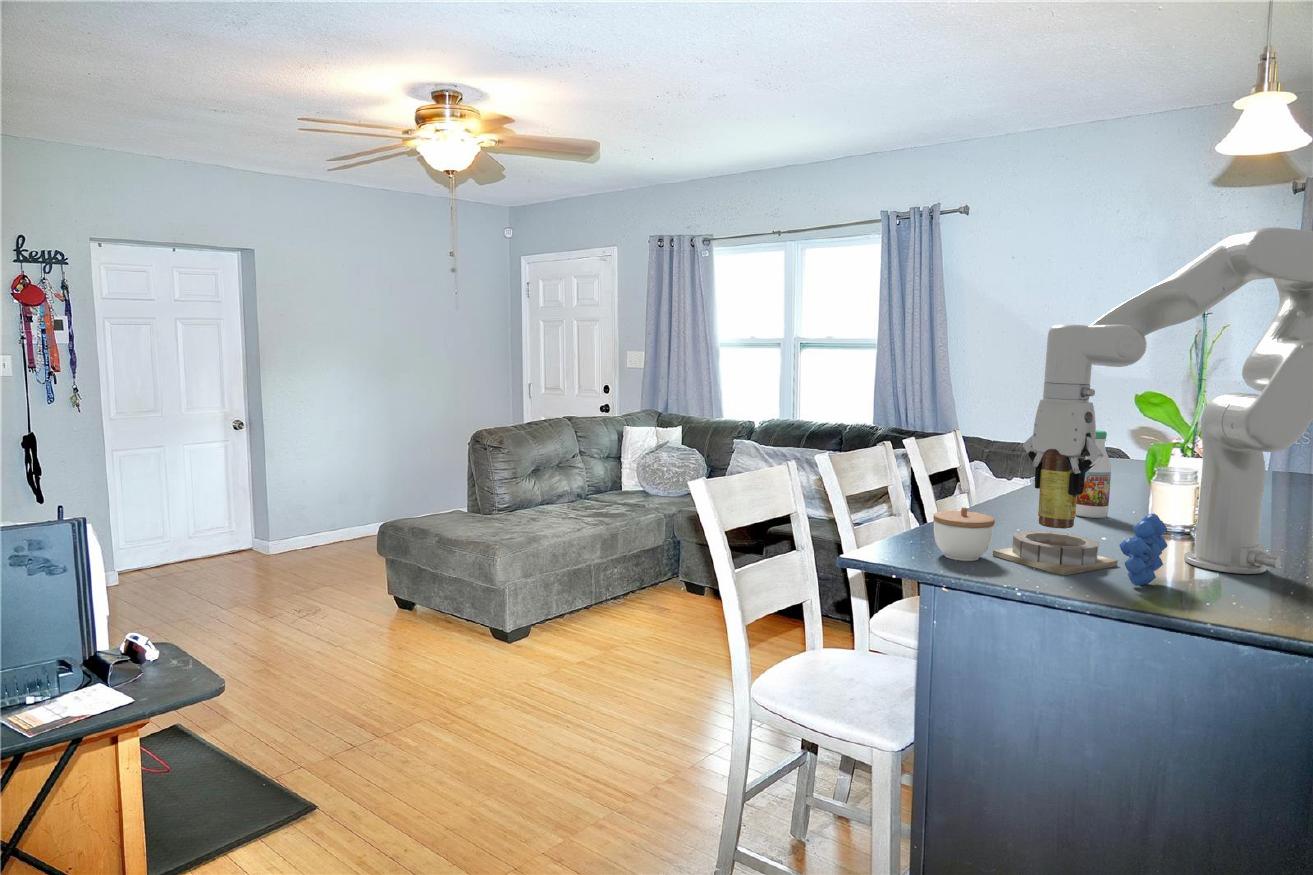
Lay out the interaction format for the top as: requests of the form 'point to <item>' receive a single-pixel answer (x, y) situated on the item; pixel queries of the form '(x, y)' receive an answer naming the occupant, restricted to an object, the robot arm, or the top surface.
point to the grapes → (1144, 550)
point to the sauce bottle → (1056, 491)
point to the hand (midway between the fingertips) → (1058, 490)
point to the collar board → (1055, 552)
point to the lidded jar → (963, 534)
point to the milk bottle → (1096, 485)
